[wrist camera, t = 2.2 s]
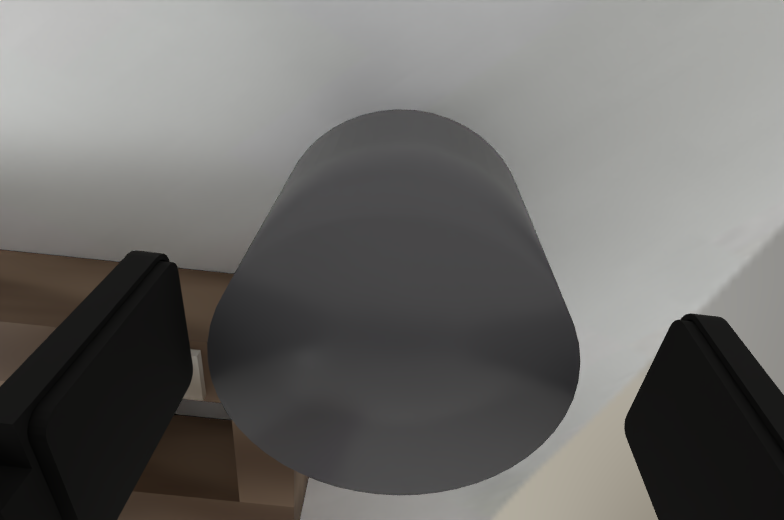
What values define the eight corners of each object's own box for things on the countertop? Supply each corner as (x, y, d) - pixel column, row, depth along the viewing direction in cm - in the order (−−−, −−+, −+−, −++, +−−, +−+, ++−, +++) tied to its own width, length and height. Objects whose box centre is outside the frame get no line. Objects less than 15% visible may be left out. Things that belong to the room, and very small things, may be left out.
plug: (484, 275, 20) (530, 509, 11) (304, 256, 19) (221, 478, 11) (525, 91, 16) (635, 239, 8) (305, 68, 16) (187, 193, 8)
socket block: (311, 465, 26) (293, 551, 22) (-93, 425, 26) (-180, 505, 22) (314, 282, 20) (290, 357, 16) (-206, 228, 20) (-349, 292, 16)
